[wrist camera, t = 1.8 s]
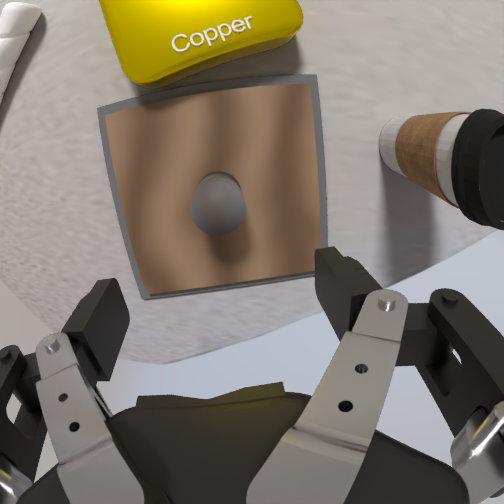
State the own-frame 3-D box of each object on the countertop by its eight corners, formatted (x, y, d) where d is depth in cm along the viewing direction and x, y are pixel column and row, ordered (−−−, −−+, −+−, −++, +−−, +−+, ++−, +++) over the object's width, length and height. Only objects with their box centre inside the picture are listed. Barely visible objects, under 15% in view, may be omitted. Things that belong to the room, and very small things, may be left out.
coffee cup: (382, 196, 29) (483, 257, 15) (355, 120, 25) (466, 130, 12) (439, 167, 28) (542, 208, 14) (417, 96, 24) (530, 101, 11)
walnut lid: (307, 84, 23) (329, 75, 18) (318, 265, 31) (337, 295, 25) (108, 115, 22) (80, 114, 17) (147, 290, 30) (135, 323, 25)
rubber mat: (315, 75, 23) (316, 74, 23) (326, 271, 31) (327, 272, 31) (98, 108, 22) (97, 108, 22) (142, 297, 31) (142, 299, 30)
